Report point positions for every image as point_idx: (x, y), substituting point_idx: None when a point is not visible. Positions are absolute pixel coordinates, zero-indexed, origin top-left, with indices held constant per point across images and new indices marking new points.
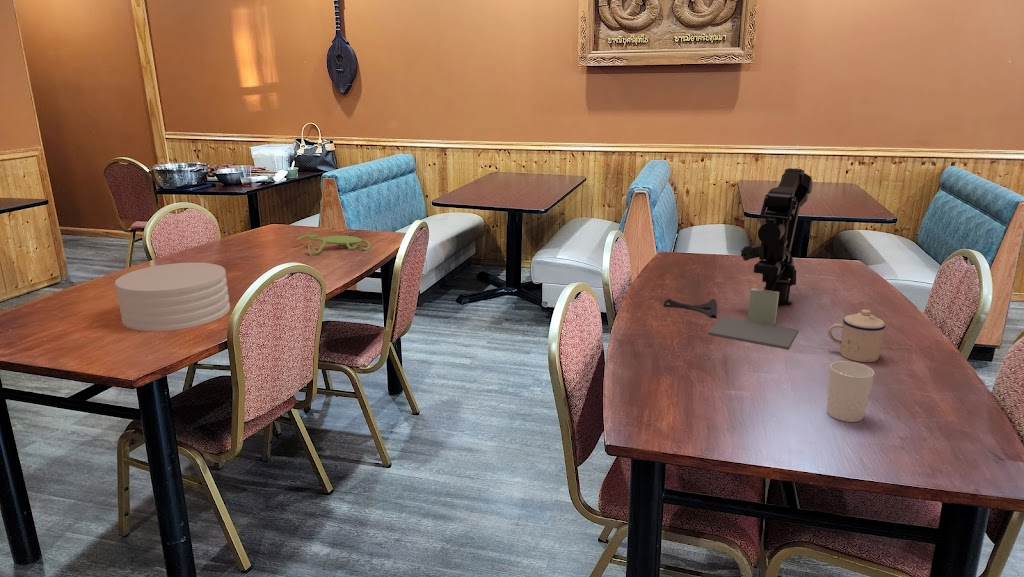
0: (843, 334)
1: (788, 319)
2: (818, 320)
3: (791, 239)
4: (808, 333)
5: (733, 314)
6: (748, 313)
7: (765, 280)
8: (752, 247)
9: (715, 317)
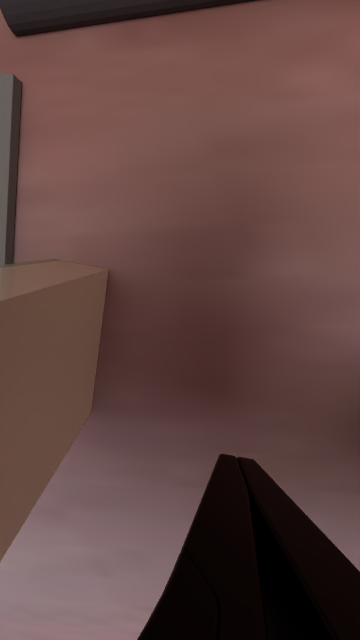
0: None
1: (179, 473)
2: None
3: None
4: None
5: (151, 158)
6: (29, 263)
7: (179, 559)
8: None
9: (12, 24)
